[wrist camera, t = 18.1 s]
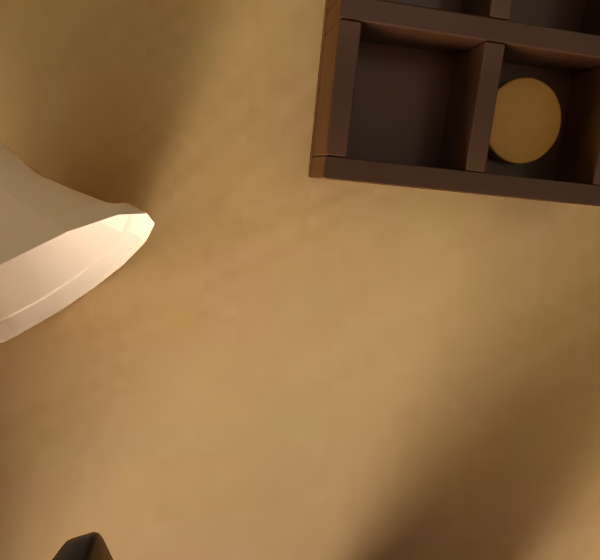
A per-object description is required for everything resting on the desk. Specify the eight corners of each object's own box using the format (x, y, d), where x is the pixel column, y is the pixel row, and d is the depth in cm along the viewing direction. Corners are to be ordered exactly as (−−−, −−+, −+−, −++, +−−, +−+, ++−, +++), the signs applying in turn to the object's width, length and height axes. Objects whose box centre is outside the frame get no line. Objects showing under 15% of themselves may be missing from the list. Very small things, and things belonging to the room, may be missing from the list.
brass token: (567, 120, 20) (578, 118, 19) (513, 181, 20) (522, 181, 20) (516, 61, 19) (525, 58, 19) (460, 125, 19) (468, 124, 19)
